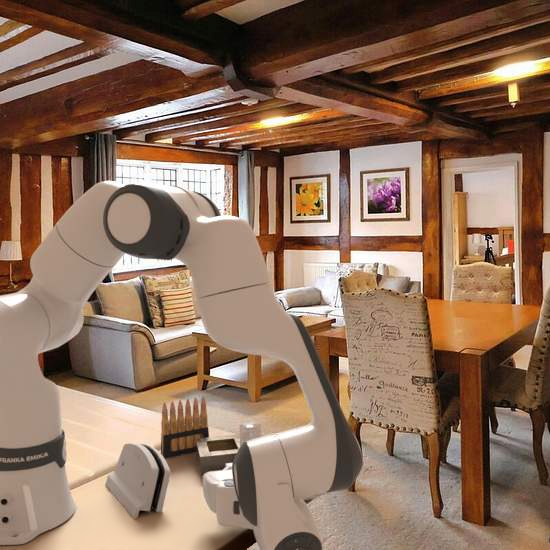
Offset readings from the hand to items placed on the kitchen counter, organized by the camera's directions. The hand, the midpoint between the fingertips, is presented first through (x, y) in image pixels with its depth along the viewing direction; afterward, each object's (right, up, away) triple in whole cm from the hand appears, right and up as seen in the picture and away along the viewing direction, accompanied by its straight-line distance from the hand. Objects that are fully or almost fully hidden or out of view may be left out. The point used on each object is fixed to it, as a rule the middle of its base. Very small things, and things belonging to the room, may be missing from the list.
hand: (255, 464), depth 104 cm
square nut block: (-7, -5, +16) cm, 18 cm away
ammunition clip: (-16, -5, +22) cm, 28 cm away
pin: (-1, -6, +5) cm, 8 cm away
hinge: (-22, -7, +3) cm, 23 cm away
